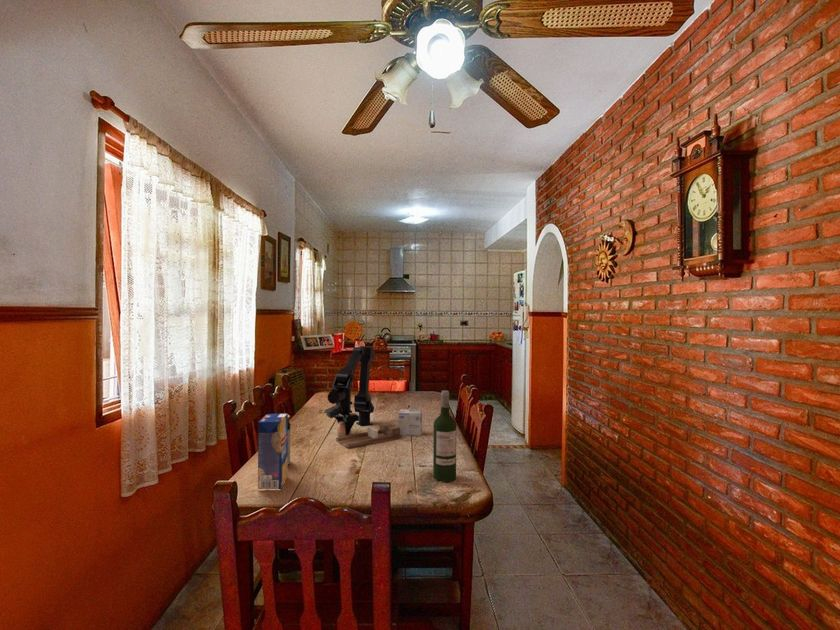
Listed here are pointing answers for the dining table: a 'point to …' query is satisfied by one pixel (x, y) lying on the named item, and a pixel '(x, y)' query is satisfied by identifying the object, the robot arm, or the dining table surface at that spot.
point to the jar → (342, 430)
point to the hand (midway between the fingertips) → (344, 433)
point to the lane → (361, 439)
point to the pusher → (372, 432)
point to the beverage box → (272, 451)
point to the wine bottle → (444, 443)
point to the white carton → (410, 422)
